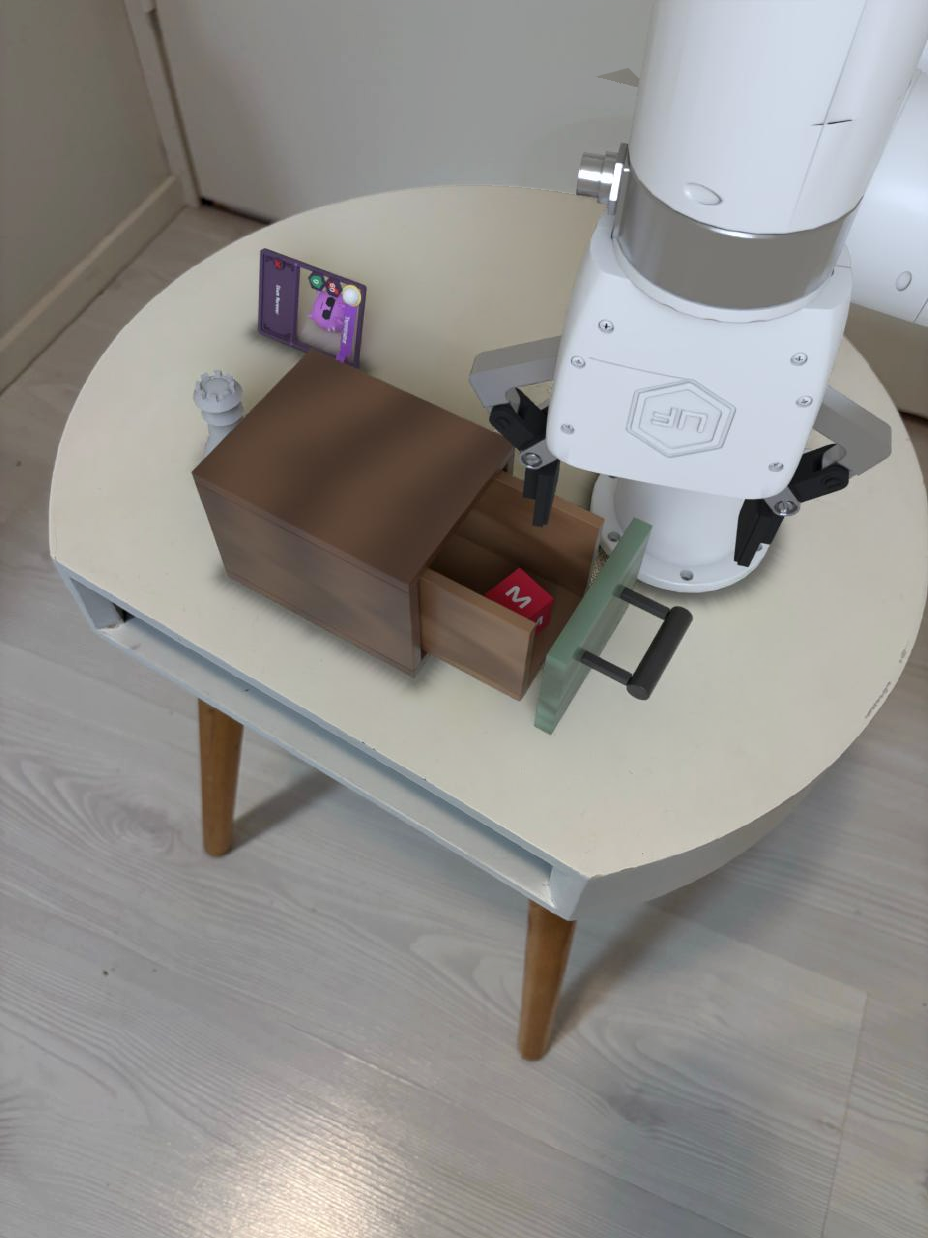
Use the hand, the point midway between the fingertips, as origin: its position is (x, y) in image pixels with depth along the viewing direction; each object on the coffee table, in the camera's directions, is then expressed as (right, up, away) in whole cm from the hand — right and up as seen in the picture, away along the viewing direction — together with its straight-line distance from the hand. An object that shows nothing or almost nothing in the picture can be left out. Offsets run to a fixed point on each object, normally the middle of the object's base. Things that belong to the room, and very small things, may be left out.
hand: (642, 522), depth 47 cm
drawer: (-5, -6, +15) cm, 17 cm away
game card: (-20, +18, +30) cm, 40 cm away
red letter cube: (-5, -5, +14) cm, 16 cm away
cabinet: (-15, -1, +19) cm, 24 cm away
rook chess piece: (-25, +6, +23) cm, 35 cm away
